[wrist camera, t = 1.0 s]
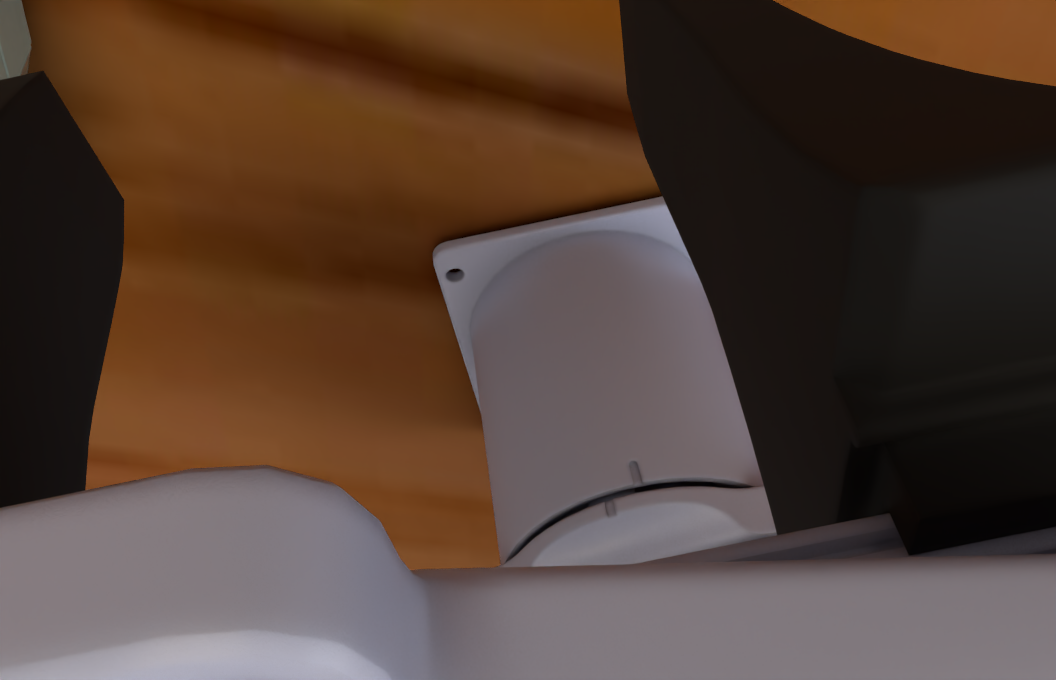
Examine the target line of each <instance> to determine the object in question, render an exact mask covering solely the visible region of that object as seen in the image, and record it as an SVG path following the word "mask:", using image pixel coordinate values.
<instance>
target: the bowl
mask: <svg viewBox="0 0 1056 680" xmlns="http://www.w3.org/2000/svg"><path fill="white" fill-rule="evenodd" d="M30 54H31V38H30V34H29V30H28V26H27V21H26V17H25V13H24V9H23V5H22V1H21V0H0V80H2V79H7V78H12V77H16V76H21V75H25V74H28V67H29V61H30Z"/></svg>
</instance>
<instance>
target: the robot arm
mask: <svg viewBox="0 0 1056 680" xmlns="http://www.w3.org/2000/svg"><path fill="white" fill-rule="evenodd" d="M619 3H620V15H621V27H622V38H623V50H624V62H625V73H626V85H627V94H628V98H629V102H630V105H631V109H632V112H633V116H634V120H635V123H636V127H637V130H638V134H639V137H640V140H641V144H642V147H643V151H644V154H645V157H646V159H647V162H648V164H649V166H650V169H651V171H652V173H653V176H654V178H655V180H656V182H657V185H658V187H659V189H660V192H661V194H662V197H657V198H652V199H647V200H642V201H638V202H633V203H628V204H623V205H618V206H614V207H609V208H604V209H599V210H594V211H590V212H585V213H580V214H575V215H570V216H566V217H561V218H556V219H551V220H546V221H542V222H537V223H532V224H527V225H522V226H518V227H513V228H508V229H503V230H498V231H494V232H489V233H484V234H479V235H474V236H470V237H465V238H460V239H455V240H451V241H446V242H443V243H441V244H439V245H438V246H437V247H436V248H435V249H434V251H433V264H434V268H435V271H436V274H437V277H438V280H439V284H440V287H441V290H442V293H443V296H444V299H445V302H446V305H447V309H448V312H449V315H450V318H451V321H452V324H453V327H454V331H455V334H456V337H457V340H458V343H459V346H460V349H461V352H462V356H463V359H464V362H465V365H466V368H467V371H468V374H469V378H470V381H471V384H472V387H473V390H474V393H475V396H476V399H477V403H478V406H479V409H480V412H481V416H482V424H483V432H484V439H485V447H486V455H487V462H488V470H489V478H490V485H491V493H492V501H493V508H494V516H495V524H496V531H497V539H498V547H499V554H500V562H501V565H499V566H497V567H495V568H457V569H418V570H409V569H408V567H407V566H406V565H405V564H404V563H403V561H402V560H401V559H400V557H399V555H398V553H397V552H396V550H395V548H394V546H393V544H392V542H391V540H390V539H389V537H388V535H387V533H386V531H385V529H384V527H383V525H382V524H381V522H380V521H379V520H378V519H377V518H376V517H375V516H374V515H372V514H371V513H370V512H369V511H368V510H366V509H365V508H364V507H363V506H362V505H361V504H359V503H358V502H357V501H356V500H355V499H354V498H352V497H351V496H350V495H349V494H348V493H346V492H345V491H344V490H343V489H342V488H340V487H339V486H337V485H335V484H334V483H332V482H329V481H326V480H322V479H318V478H314V477H310V476H307V475H303V474H299V473H295V472H291V471H287V470H284V469H280V468H276V467H272V466H268V465H256V466H235V467H214V468H194V469H188V470H183V471H178V472H173V473H168V474H163V475H158V476H154V477H149V478H144V479H139V480H134V481H129V482H124V483H119V484H114V485H110V486H105V487H100V488H95V489H90V490H85V485H86V472H87V458H88V444H89V435H90V429H91V422H92V416H93V409H94V404H95V399H96V395H97V390H98V385H99V380H100V375H101V371H102V366H103V361H104V356H105V352H106V347H107V342H108V337H109V333H110V328H111V323H112V318H113V313H114V308H115V303H116V298H117V293H118V288H119V283H120V277H121V271H122V264H123V244H124V199H123V198H122V196H121V195H120V193H119V191H118V190H117V188H116V186H115V185H114V183H113V182H112V180H111V178H110V177H109V175H108V174H107V172H106V170H105V169H104V167H103V166H102V164H101V162H100V161H99V159H98V158H97V156H96V154H95V153H94V151H93V150H92V148H91V146H90V145H89V143H88V142H87V140H86V138H85V137H84V135H83V134H82V132H81V130H80V129H79V127H78V125H77V124H76V122H75V121H74V119H73V117H72V116H71V114H70V113H69V111H68V109H67V108H66V106H65V105H64V103H63V101H62V100H61V98H60V97H59V95H58V93H57V92H56V90H55V89H54V87H53V85H52V84H51V82H50V81H49V79H48V77H47V76H46V74H45V72H44V71H39V72H35V73H30V74H25V75H21V76H16V77H12V78H7V79H2V80H0V680H1056V86H1050V85H1043V84H1036V83H1030V82H1023V81H1016V80H1010V79H1004V78H999V77H994V76H989V75H984V74H978V73H973V72H969V71H965V70H961V69H956V68H952V67H948V66H944V65H940V64H936V63H932V62H928V61H924V60H920V59H917V58H913V57H910V56H907V55H903V54H900V53H896V52H893V51H890V50H887V49H884V48H882V47H879V46H876V45H873V44H870V43H868V42H865V41H862V40H859V39H857V38H854V37H851V36H848V35H845V34H843V33H841V32H838V31H836V30H833V29H831V28H828V27H826V26H824V25H822V24H819V23H817V22H815V21H813V20H811V19H809V18H807V17H805V16H803V15H801V14H799V13H797V12H794V11H792V10H790V9H788V8H786V7H784V6H782V5H780V4H779V3H777V2H775V1H773V0H619ZM451 269H460V271H458V272H449V270H451Z"/></svg>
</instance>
